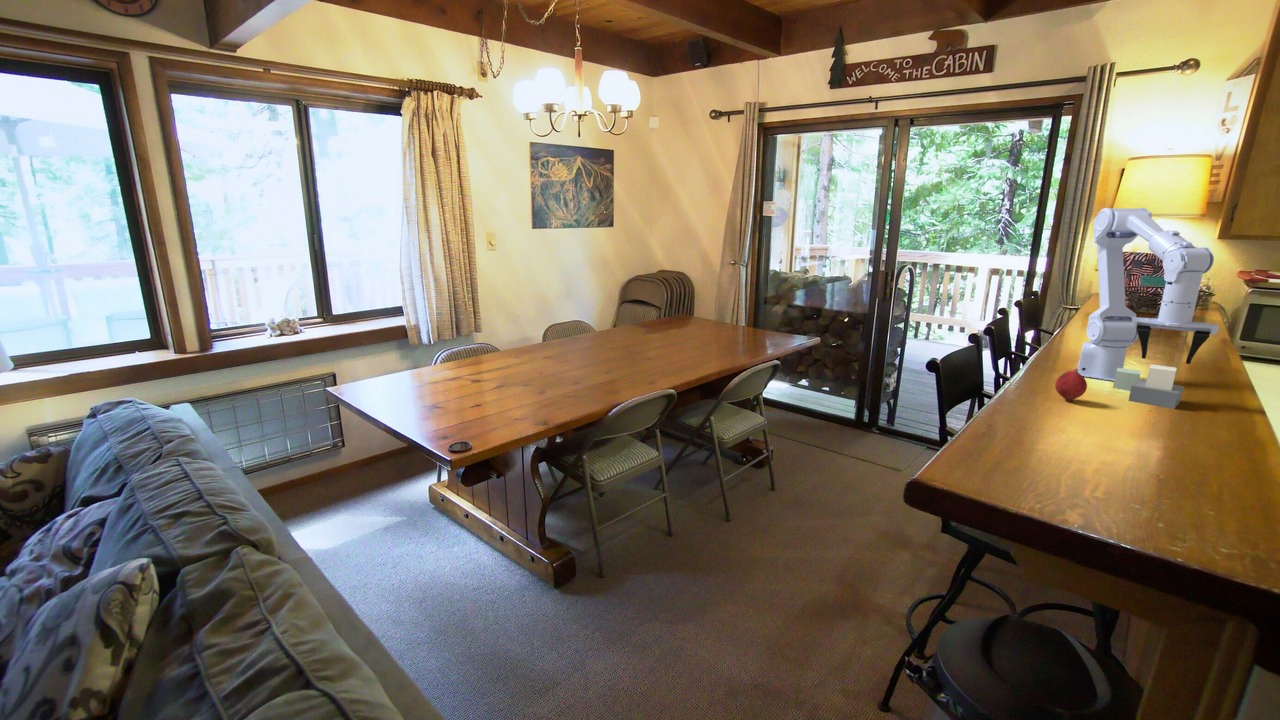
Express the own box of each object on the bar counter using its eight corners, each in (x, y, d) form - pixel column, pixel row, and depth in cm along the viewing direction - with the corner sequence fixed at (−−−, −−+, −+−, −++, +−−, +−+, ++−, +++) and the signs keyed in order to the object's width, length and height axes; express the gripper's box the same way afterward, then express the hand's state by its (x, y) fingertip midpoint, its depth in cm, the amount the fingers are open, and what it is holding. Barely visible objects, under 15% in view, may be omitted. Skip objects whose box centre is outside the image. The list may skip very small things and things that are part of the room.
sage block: (1112, 388, 145) (1116, 371, 143) (1114, 384, 148) (1117, 367, 147) (1136, 392, 142) (1139, 374, 140) (1137, 388, 145) (1140, 370, 144)
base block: (1128, 402, 135) (1131, 385, 134) (1135, 395, 140) (1139, 379, 139) (1173, 410, 129) (1177, 393, 128) (1179, 402, 134) (1183, 386, 133)
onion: (1056, 403, 133) (1062, 369, 131) (1050, 396, 139) (1055, 363, 137) (1087, 406, 131) (1093, 372, 129) (1079, 398, 136) (1085, 366, 134)
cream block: (1145, 386, 133) (1149, 367, 132) (1146, 382, 136) (1150, 364, 135) (1171, 390, 130) (1175, 371, 129) (1172, 386, 133) (1176, 367, 132)
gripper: (1135, 300, 132) (1123, 358, 136) (1224, 307, 123) (1208, 369, 126) (1137, 297, 137) (1126, 353, 141) (1223, 303, 128) (1208, 363, 131)
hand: (1165, 360), depth 134 cm, fingers open, 7 cm apart
